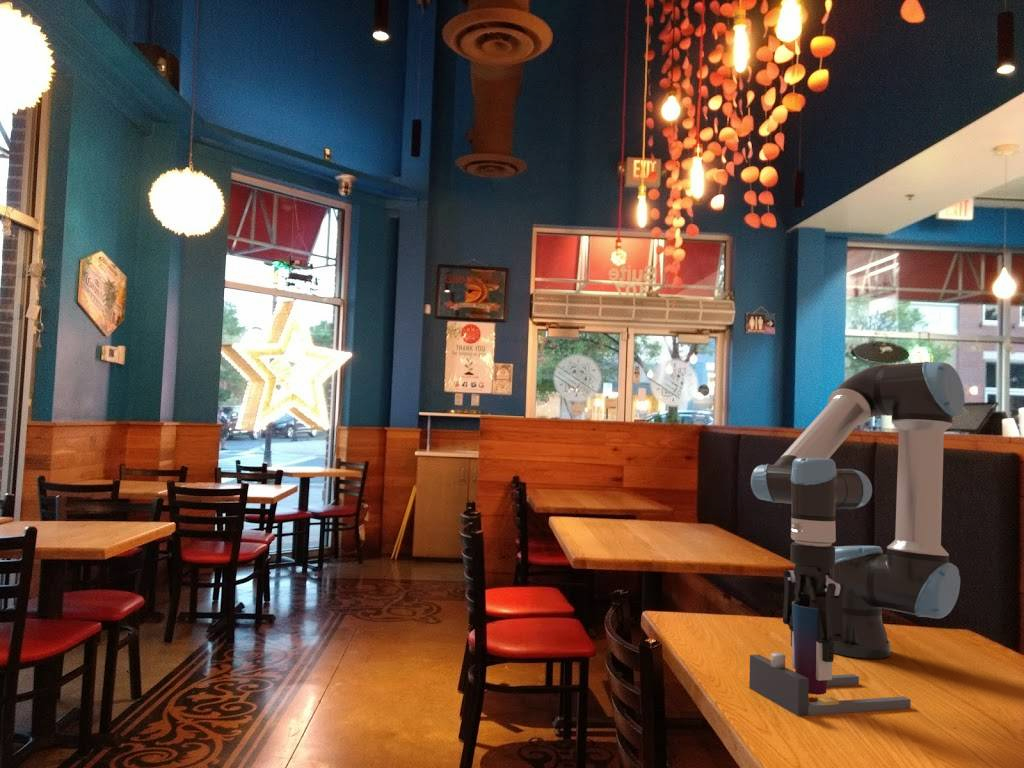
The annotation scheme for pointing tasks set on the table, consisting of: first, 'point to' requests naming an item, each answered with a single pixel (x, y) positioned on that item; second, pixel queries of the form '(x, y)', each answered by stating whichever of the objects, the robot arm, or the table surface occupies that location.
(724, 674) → the table surface
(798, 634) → the cup
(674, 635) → the table surface
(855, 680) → the grey u-shaped fork
